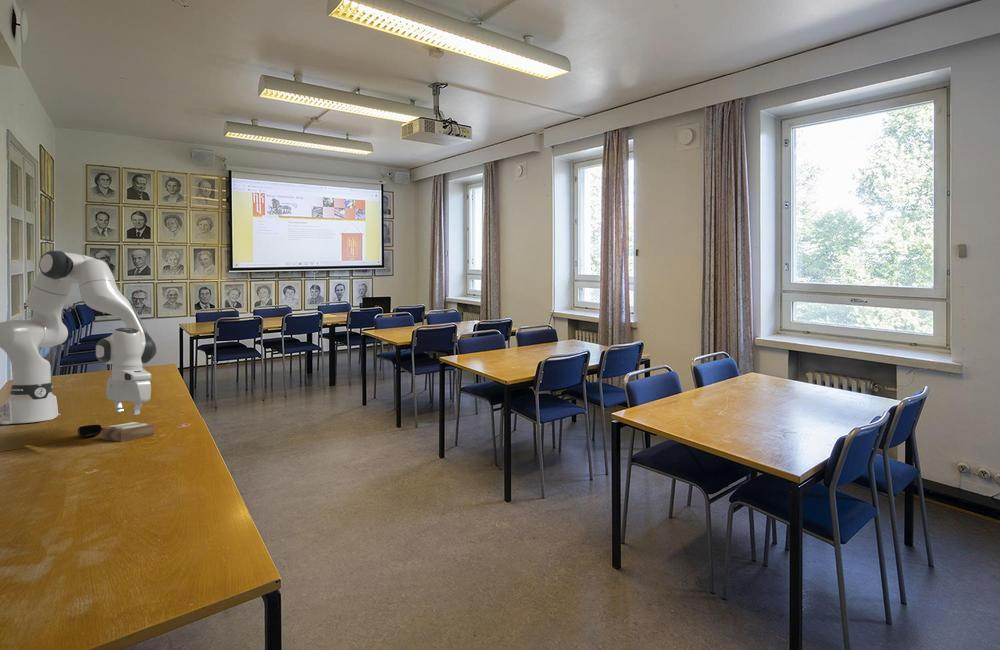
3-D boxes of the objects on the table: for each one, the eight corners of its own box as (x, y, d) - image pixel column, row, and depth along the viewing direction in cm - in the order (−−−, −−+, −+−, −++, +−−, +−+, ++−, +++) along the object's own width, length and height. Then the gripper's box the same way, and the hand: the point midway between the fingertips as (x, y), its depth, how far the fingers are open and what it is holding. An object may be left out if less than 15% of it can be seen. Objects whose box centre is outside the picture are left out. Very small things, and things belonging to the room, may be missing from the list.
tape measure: (101, 433, 186) (100, 423, 187) (76, 437, 182) (76, 426, 183) (103, 434, 192) (102, 424, 192) (79, 438, 188) (78, 427, 188)
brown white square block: (101, 438, 184) (101, 426, 184) (135, 432, 194) (134, 421, 194) (120, 441, 179) (120, 429, 179) (153, 435, 189) (153, 423, 189)
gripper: (100, 373, 188) (100, 412, 188) (135, 376, 179) (136, 417, 180) (119, 372, 194) (119, 410, 194) (154, 374, 185) (155, 414, 185)
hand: (127, 413), depth 187 cm, fingers open, 8 cm apart
